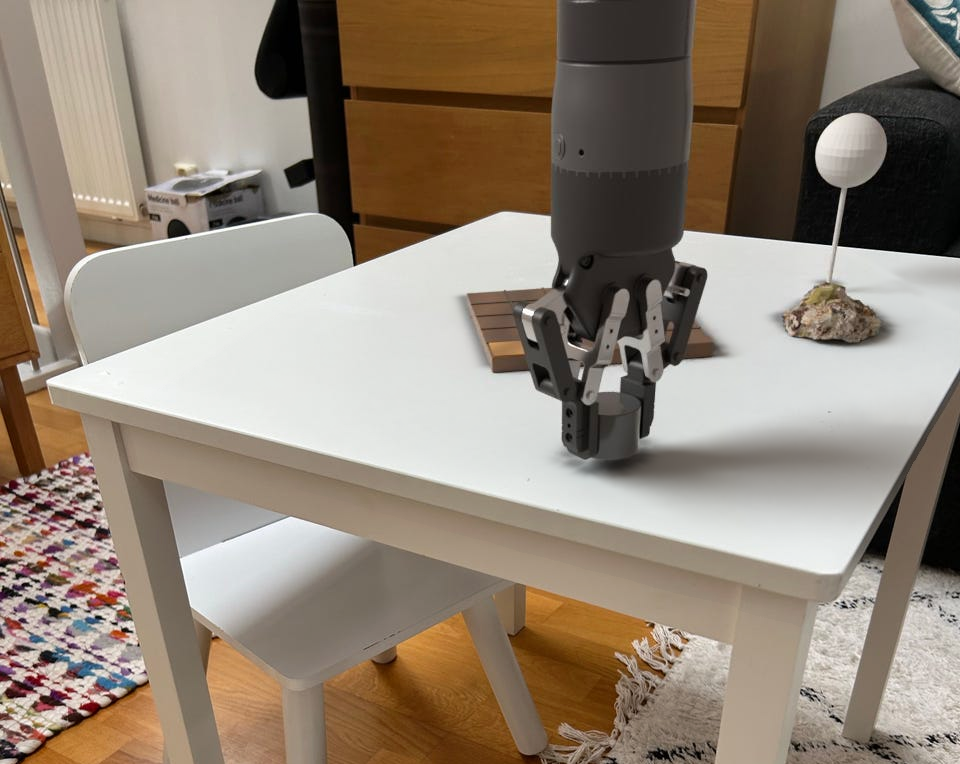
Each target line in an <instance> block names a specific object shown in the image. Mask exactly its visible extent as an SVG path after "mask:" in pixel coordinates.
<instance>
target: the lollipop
mask: <svg viewBox="0 0 960 764" xmlns="http://www.w3.org/2000/svg"><path fill="white" fill-rule="evenodd" d="M886 135H887V134H886V132H885V130H884V128H883V126H882V125H881V123H880V122H879V121H878V120H877V119H876V118H874V117H873V116H871V115H868V114H865V113H864V112H863V113H862V112H851V113H848V114H844V115H842V116H840V117H837V118H836V119H834V120H833V121H832V122H830V123H829V125H827V126H826V128H825V129H824V130H823V131H822V133H821V134H820V136H819V139H818V141H817V143H816V147H815V155H814V156H815V157H814V158H815V159H814V160H815V164H816V165H815V166H816V169H817V171H818V173H819V174H820V176H821V177H822V179H824V180H825V181H826V182H827V183H828V184H830V185H831V186H833V187H837V188H840V189H841V190H840V195H839V202H838V208H837V213H836V214H837V215H836V220H835V227H834V233H833V239H832V246H831V251H830V256H829V262H828V267H827V268H828V270H827V275H826V281H825V282H827V283H830V284H832V282H833V281H832V279H833V274H834V270H835V269H834V268H835V262H836V256H837V251H838V244H839V238H840V233H841V226H842V223H843V222H842V220H843V215H844V210H845V205H846V197H847V193H848V192H847V191H848V188H855V187H858V186H859V185H860V186H861V185H863V184H865V183H866V182H867V181H869V180H870V179H872V177H874V176H875V175H876V173H877V172H878V171H879V169H880V168H881V166H882V165H883V163H884V161H885V158H886V153H887V148H888V141H887V136H886Z"/></svg>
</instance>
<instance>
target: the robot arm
mask: <svg viewBox="0 0 960 764" xmlns="http://www.w3.org/2000/svg"><path fill="white" fill-rule="evenodd" d="M697 1H698V0H556V58H557V59H556V60H555V74H554V75H555V76H554V83H553V91H552V100H551V114H550V115H551V116H550V118H551V119H550V123H551V124H550V238H551V240H552V242H553V244H554V247H555V250H556V252H557V259H558V262H557V266H556V270H555V274H554V276H553V279H552V282H551V288H552V291H550V292H549V293H547V294H546V295H545V296H543V297H542V298H540V299H539V300H538V301H536V302H535V303H533V304H532V303H529V302H526V301H520V302H518V303H517V304H516V306H515V307H514V310H513V317H514V320H515V324H516V327H517V330H518V334H519V337H520V340H521V343H522V347H523V350H524V353H525V357H526V360H527V363H528V367H529V370H528V371H529V373H530V376H531V379H532V384H533V386H534V389H535V391H537V392H539V393H542V394H544V395H546V396H548V397H551V398H552V399H556V400H558V401H559V402H561V442H562V445H563V447H565V448H566V450H567V451H568V452H569V454H571V455H574V456H576V457H578V458H579V459H582V460H585V461H586V460H589V459H593V458H592V457H594V456H596V454H597V440H598V411H599V403H598V402H596V399H597V396H598V392H600V387H601V383H602V379H603V374H604V371H605V368H606V367H609V366H610V365H612V364H611V362H612V358H613V354H614V349H615V345H616V342H617V343H618V344H619V347H620V353H621V359H622V363H621V364H622V369H623V371H624V372H625V373H626V375H623V376H621V377H620V384H619V392H620V393H626V394H629V395H632V396H634V397H636V398H638V399H639V400H640V402H641V405H642V406H641V422H640V439H639V440H642V439H644V438H647V437H648V436H649V435H650V432H651V427H652V425H653V422H654V419H655V403H656V389H657V382H659V381H660V380H661V378H662V376H663V375H664V370H665V369H667V368H668V367H669V366H670V365H671V366H674V367H677V366H679V365H680V364H681V363H682V362H683V360H684V358H683V357H684V354H685V350H686V347H687V344H688V340H689V337H690V334H691V330H692V327H693V324H694V322H695V320H696V317H697V314H698V310H699V306H700V304H701V300H702V297H703V295H704V290H705V287H706V283H707V280H708V270H707V269H706V268H705V267H701V266H698V265H696V264H692V263H688V262H686V261H685V262H684V261H678V260H676V258H675V255H674V253H673V248H675V247H676V246H677V245H678V244H679V243H680V242H681V241H682V239H683V237H684V233H685V221H686V209H687V195H688V182H689V172H690V171H689V169H690V156H691V145H692V144H691V143H692V134H693V133H692V131H693V118H694V82H693V81H694V80H693V55H692V53H694V41H695V27H696V15H697V4H698V3H697ZM563 314H564V315H565V320H564V325H563V322H562V316H563ZM670 321H671V322H672V323H673V324H674V328H673V331H672V335H671V338H670V342H669V343H668V342H665V335H666V331H667V328H668V324H669V322H670ZM582 338H583V339H586V340H589V341H591V342H594V343H595V345H594V347H593V348H592V347H589V346H586V345H584V344H583V342H582ZM581 362H583V364H584V366H583V370H582V375H581V379H579V375H580V371H581V367H582V366H581Z"/></svg>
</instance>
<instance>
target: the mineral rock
mask: <svg viewBox="0 0 960 764" xmlns="http://www.w3.org/2000/svg"><path fill="white" fill-rule="evenodd" d="M781 318H782V323H783V325H782V326H783V327H784V328H785V332H787V333H788V334H787V335H788V336H790V337H798V338H804V337H805V338H809V339H813V340H821V341H825V340H826V341H828V340H843V341H845V342H846V343H848V344H849V343H859V342H860V341H863V340H865V339H868V338H869V337H874V336H876V335H877V334H878V333H880V328H881V327H882V326H884V321H883V320H882V319H880V318H879V317H878V316H877V313H876V312H875V311H874V308H871V307H870V306H869V305H865V304H864V303H863V302H862V301H861V300H860V299H856V298H852V297H851V296H850V295H848V294H847V292H846V286H844V285H841V284H836V283H831V284H830V283H827V282H826V281H824V282H820V283H819V284H817V285H813V287H812V289H809V290H808V291H807V293H805V294H804V295H803V297H802V299H801V301H800V302H799V303H798V304H797V305H796V306H795V307H794V308H789V309H788V310H787V311H785V312H783V313H782V314H781Z"/></svg>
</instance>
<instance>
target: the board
mask: <svg viewBox="0 0 960 764" xmlns="http://www.w3.org/2000/svg"><path fill="white" fill-rule="evenodd" d="M550 291H552V287H541V288H526V289H512V290H511V289H510V290H507V289H503V290H497V291H496V290H495V291H482V292H469V293H466V306H467V309H468V311H469V314H470V317H471V319H472V322H473V325H474V327H475V330H476V332H477V333H476V334H477V336H478V338H479V341H480V343H481V346H482V349H483V351H484V354H485V355H486V357H485V358H486V359H487V361H488V364H489V367H490V370H491V372H492V373H502V372H504V373H505V372H517V371H530V370H529V367H528V363H527V360H526V357H525V353H524V350H523V347H522V343H521V340H520V337H519V334H518V330H517V327H516V324H515V320H514V317H513V310H514V307H515V306H516V304H517V303H518V302H520V301H526V302H529V303H532V304H533V303H535V302H536V301H538V300H539V299H540V298H542V297H543V296H545V295H546V294H547V293H549V292H550ZM564 320H565V315H564V314H563V316H562V322H563V325H564ZM673 328H674V324H673V323H672V322H671V321H670V322H669V324H668V328H667V331H666V335H665V342H668V343H669V342H670V338H671V335H672V331H673ZM701 328H702V327H701V326H699V325H698V324H697V323H695V321H694V324H693V327H692V330H691V334H690V337H689V340H688V344H687V347H686V350H685V354H684V357H683V359H696V358H709V357H713V351H714V341H713V340H712V338H710V336H708V335H707V334H706V333H705V332H704V331H703V330H702V329H701ZM582 342H583V344H584V345H586V346H589V347H592V348H593V347H594V345H595V343H594V342H591V341H589V340H586V339H583V338H582ZM612 364H622V359H621V353H620V347H619V344H618V343H617V342H616V345H615V349H614V354H613V358H612V362H611V364H610V365H612ZM581 367H584V364H583V362H581Z"/></svg>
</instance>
